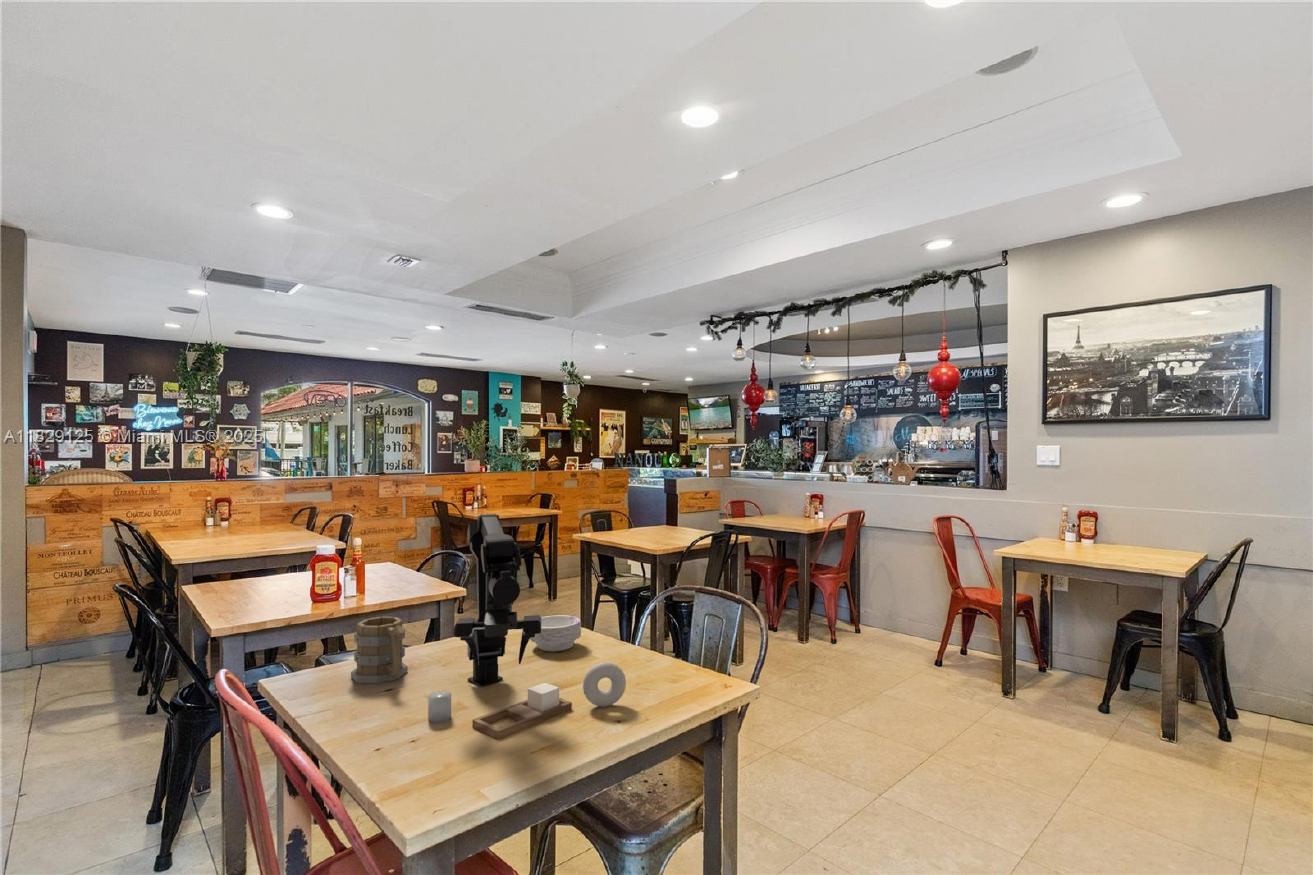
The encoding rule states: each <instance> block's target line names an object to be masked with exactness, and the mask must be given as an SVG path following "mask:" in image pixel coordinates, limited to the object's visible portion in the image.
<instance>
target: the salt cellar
mask: <svg viewBox="0 0 1313 875" xmlns="http://www.w3.org/2000/svg"><path fill="white" fill-rule="evenodd" d="M427 700H428V702H427V704H428V705H427V707H428V712H427V713H428V714H427V715H428V716H427V720H428V721H429V722H430V723H435V724H436V723H442V722H443V723H444V722H446V721H449V720H451V718H452V692H451V691H448V690H441V691H435V692H431V693H430V694H429V695H428V697H427Z"/></svg>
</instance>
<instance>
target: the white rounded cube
mask: <svg viewBox="0 0 1313 875" xmlns="http://www.w3.org/2000/svg"><path fill="white" fill-rule="evenodd" d="M559 698H560V687H558V686H555V685H552V684H551V683H546V682H543V683H540V684H538V685H535V686H532V687H528V688H527V700H528V707H530V708H532V709H535V710H537V711H540V712H543V711H545V710H548V709H551V708H553V707H556V706H558V705H559Z"/></svg>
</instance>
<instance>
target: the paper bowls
mask: <svg viewBox="0 0 1313 875" xmlns="http://www.w3.org/2000/svg"><path fill="white" fill-rule="evenodd" d="M540 617H541V633H539V634H535V637H533V638H530V639H529V641H531V642H532V643H535V644H536V647H537V648H538V649H539V650H541V651H545V652H562V651H567V650H569V649H571V648H572V647H573V646H574V643H575V641H576V640H577V639H580V638H581V637H582V636H581V635H582V620H581V618H579V617H577V616H575V615H574V616H573V615H567V614H560V615H559V614H557V615H547V616H540Z"/></svg>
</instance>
